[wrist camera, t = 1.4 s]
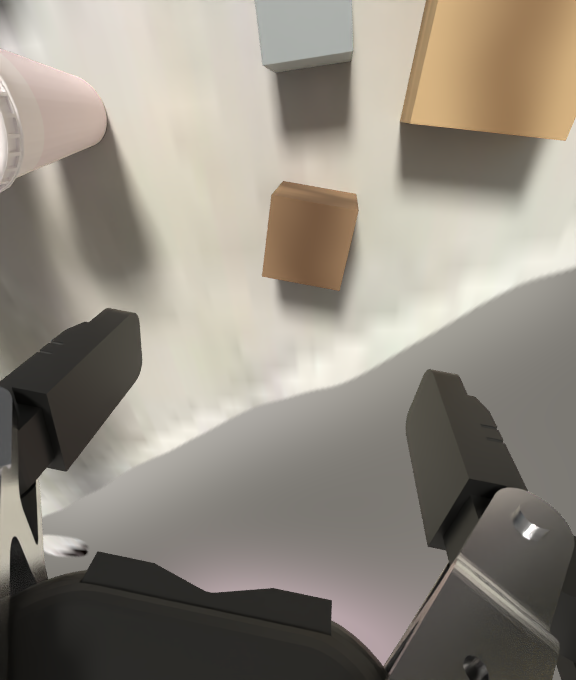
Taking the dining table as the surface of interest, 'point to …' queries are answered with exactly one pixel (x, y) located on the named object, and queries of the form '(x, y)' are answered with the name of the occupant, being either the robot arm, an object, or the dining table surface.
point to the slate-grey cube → (304, 33)
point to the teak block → (495, 67)
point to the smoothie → (43, 116)
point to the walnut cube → (309, 235)
